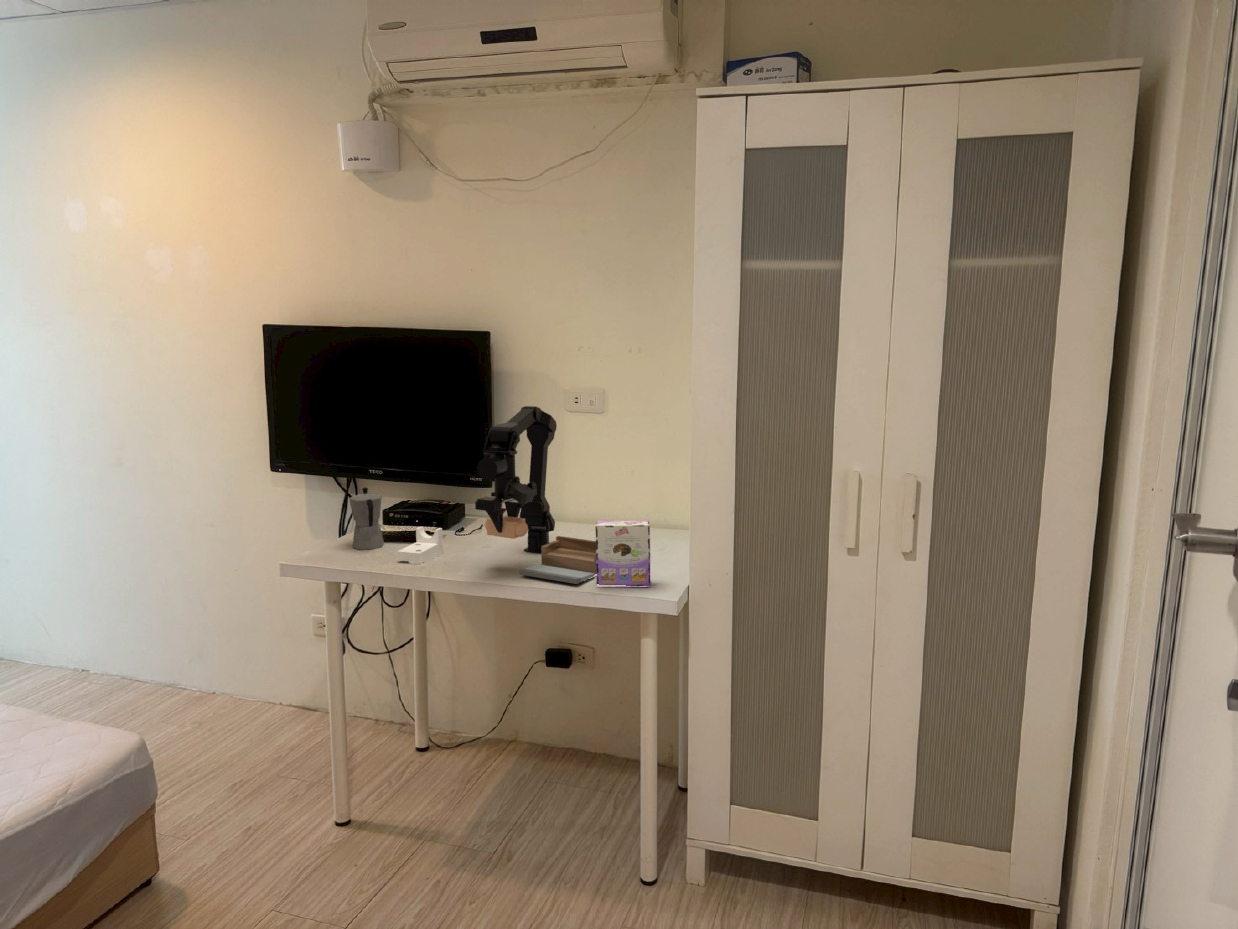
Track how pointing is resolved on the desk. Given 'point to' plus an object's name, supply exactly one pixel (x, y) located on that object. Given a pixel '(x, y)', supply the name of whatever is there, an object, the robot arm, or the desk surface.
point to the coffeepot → (366, 521)
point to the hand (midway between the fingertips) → (506, 530)
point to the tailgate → (557, 573)
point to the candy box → (623, 553)
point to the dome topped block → (508, 527)
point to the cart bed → (570, 554)
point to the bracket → (422, 547)
